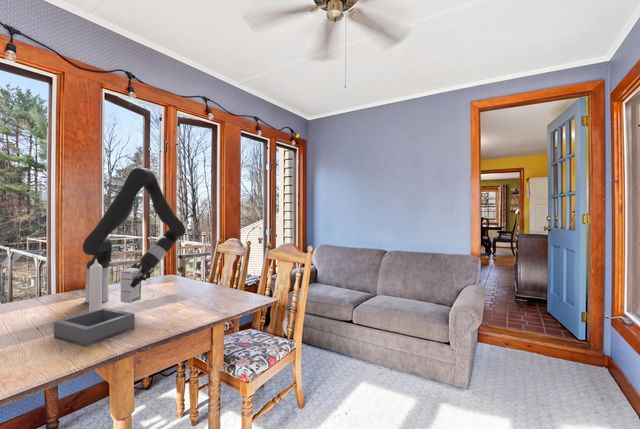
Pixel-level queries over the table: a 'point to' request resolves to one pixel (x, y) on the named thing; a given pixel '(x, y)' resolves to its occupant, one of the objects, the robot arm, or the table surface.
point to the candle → (95, 287)
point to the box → (93, 326)
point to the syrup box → (127, 291)
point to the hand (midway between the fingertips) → (127, 285)
